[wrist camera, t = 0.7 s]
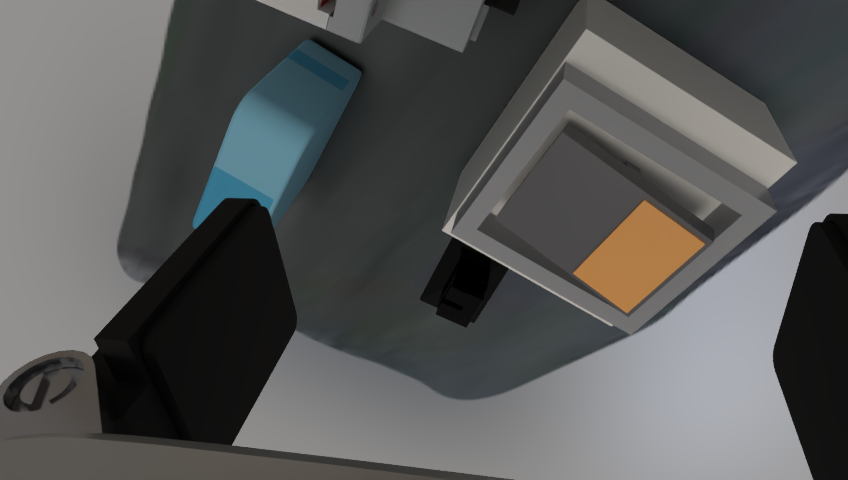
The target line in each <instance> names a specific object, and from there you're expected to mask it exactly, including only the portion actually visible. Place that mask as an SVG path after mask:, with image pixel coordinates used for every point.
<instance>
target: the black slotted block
mask: <svg viewBox="0 0 848 480" xmlns="http://www.w3.org/2000/svg"><path fill="white" fill-rule="evenodd" d="M508 269H509V268H508V267H506V266H504V265H502V264H500V263H499V262H497V261H495V260H493V259H492V258H490V257H488V256H486V255H485V254H483V253H481V252H479V251H477V250H476V249H474V248H472V247H470V246H469V245H467V244H465V243H463V242H462V241H460V240H458V239H456V238H455V237H453V238H452V239H451V241H450V243H449V245H448V247H447V249H446V251H445V252H444V254H443V256H442V258H441V260H440V262H439V264H438V266H437V267H436V269H435V271H434V273H433V275H432V277H431V279H430V281H429V282H428V284H427V286H426V288H425V290H424V292H423V294H422V295H421V297H420V300H421V301H423V302H426V303H428V304H430V305H433V306H435V307H437V312H436V315H439V316H441V317H443V318H445V319H448V320H450V321H452V322H455V323H457V324H459V325H462V326H464V327H467V326H468V324H469V323H470V322H472V323H474V322H475V321H476V319H477V318H478V316H479V315H480V313H481V311H482V310H483V308H484V307H485V305H486V304H487V302H488V300H489V299H490V297H491V296H492V294H493V293H494V291H495V289H496V288H497V286H498V285H499V283H500V282H501V280H502V278H503V277H504V275H505V274H506V272H507V271H508Z"/></svg>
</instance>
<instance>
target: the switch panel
mask: <svg viewBox="0 0 848 480" xmlns="http://www.w3.org/2000/svg"><path fill="white" fill-rule="evenodd" d="M568 123H569V124H570V125H571V126H573V127H574V128H576V129H577V130H578V131H580V132H581V133H582V134H584V135H585V136H587V137H588V138H589V139H591V140H592V141H593V142H595V143H596V144H598V145H599V146H600V147H602V148H603V149H604V150H606V151H607V152H609V153H610V154H611V155H613V156H614V157H615V158H617V159H618V160H620V161H621V162H622V163H624V164H625V165H626V166H628V167H629V168H631V169H632V170H633V171H635V172H636V173H637V174H639V175H640V176H642V177H643V178H644V179H646V180H647V181H648V182H650V183H651V184H653V185H654V186H655V187H657V188H658V189H659V190H661V191H662V192H664V193H665V194H666V195H668V196H669V197H671V198H672V199H673V200H675V201H676V202H677V203H679V204H680V205H682V206H683V207H684V208H686V209H687V210H688V211H690V212H691V213H693V214H694V215H695V216H697V217H698V218H699V219H701V220H702V221H704V222H705V223H706V224H708V225H709V226H710V227H712V228H713V229H715V231H714V243H713V244H712V245H710V246H709V247H708V248H707V249H706V250H705V251H704V252H702V253H701V254H700V255H699V256H698V257H697V258H696V259H694V260H693V261H692V262H691V263H690V264H689V265H688V266H686V267H685V268H684V269H683V270H682V271H681V272H680V273H678V274H677V275H676V276H675V277H674V278H673V279H672V280H670V281H669V282H668V283H667V284H666V285H665V286H664V287H662V288H661V289H660V290H659V291H658V292H657V293H656V294H654V295H653V296H652V297H651V298H650V299H649V300H648V301H646V302H645V303H644V304H643V305H642V306H641V307H640V308H638V309H637V310H636V311H635V312H634V313H633V314H632V315H630V316H629V317H627V316H626V315H624V314H623V313H621V312H620V311H619V310H617V309H616V308H615V307H613V306H612V305H611V304H609V303H608V302H607V301H605V300H604V299H603V298H601V297H600V296H598V295H597V294H596V293H594V292H593V291H592V290H590V289H589V288H588V287H586V286H585V285H584V284H582V283H581V282H579V281H578V280H577V279H575V278H574V277H573V276H571V275H570V274H569V273H567V272H566V271H565V270H563V269H562V268H561V267H559V266H558V265H556V264H555V263H554V262H552V261H551V260H550V259H548V258H547V257H546V256H544V255H543V254H542V253H540V252H539V251H537V250H536V249H535V248H533V247H532V246H531V245H529V244H528V243H527V242H525V241H524V240H523V239H521V238H520V237H519V236H517V235H516V234H514V233H513V232H512V231H510V230H509V229H508V228H506V227H505V226H504V225H502V224H501V223H500V222H498V221H497V220H495V218H496V216H497V215H498V213H499V212H500V210H501V209H502V207H503V206H504V205H505V203H506V202H507V201H508V200H509V198H510V197H511V196H512V195H513V193H514V192H515V191H516V189H517V188H518V187H519V186H520V184H521V183H522V182H523V180H524V179H525V178H526V177H527V175H528V174H529V173H530V171H531V170H532V169H533V168H534V166H535V165H536V164H537V162H538V161H539V160H540V159H541V157H542V156H543V155H544V153H545V152H546V151H547V150H548V148H549V147H550V146H551V144H552V143H553V142H554V141H555V139H556V138H557V137H558V135H559V134H560V133H561V132H562V130H563V129H564V128H565V127H566V125H567V124H568ZM796 163H797V162H796V160H795V158H794V156H793V154H792V152H791V151H790V149H789V147H788V145H787V143H786V141H785V139H784V138H783V136H782V134H781V132H780V130H779V128H778V126H777V125H776V123H775V121H774V119H773V117H772V115H771V113H770V112H769V110H768V108H767V106H766V104H765V103H764V102H762V101H761V100H759V99H757V98H756V97H754V96H753V95H751V94H750V93H748V92H747V91H745V90H744V89H742V88H740V87H739V86H737V85H736V84H734V83H733V82H731V81H730V80H728V79H727V78H725V77H723V76H722V75H720V74H719V73H717V72H716V71H714V70H713V69H711V68H710V67H708V66H706V65H705V64H703V63H702V62H700V61H699V60H697V59H696V58H694V57H693V56H691V55H689V54H688V53H686V52H685V51H683V50H682V49H680V48H679V47H677V46H676V45H674V44H672V43H671V42H669V41H668V40H666V39H665V38H663V37H662V36H660V35H658V34H657V33H655V32H654V31H652V30H651V29H649V28H648V27H646V26H645V25H643V24H641V23H640V22H638V21H637V20H635V19H634V18H632V17H631V16H629V15H628V14H626V13H624V12H623V11H621V10H620V9H618V8H617V7H615V6H614V5H612V4H611V3H609V2H607V1H606V0H579V1H578V2H577V4H576V5H575V7H574V8H573V10H572V11H571V13H570V14H569V16H568V17H567V19H566V20H565V21H564V23H563V24H562V26H561V27H560V29H559V30H558V32H557V33H556V35H555V36H554V38H553V39H552V40H551V42H550V43H549V45H548V46H547V48H546V49H545V51H544V52H543V54H542V55H541V57H540V58H539V59H538V61H537V62H536V64H535V65H534V67H533V68H532V70H531V71H530V73H529V74H528V75H527V77H526V78H525V80H524V81H523V83H522V84H521V86H520V87H519V89H518V90H517V92H516V93H515V94H514V96H513V97H512V99H511V100H510V102H509V103H508V105H507V106H506V108H505V109H504V111H503V112H502V113H501V115H500V116H499V118H498V119H497V121H496V122H495V124H494V125H493V127H492V128H491V130H490V131H489V132H488V134H487V135H486V137H485V138H484V140H483V141H482V143H481V144H480V146H479V147H478V148H477V150H476V151H475V153H474V154H473V156H472V157H471V159H470V160H469V162H468V163H467V165H466V166H465V167H464V169H463V170H462V172H461V175H460V178H459V181H458V184H457V187H456V190H455V193H454V196H453V199H452V202H451V205H450V208H449V211H448V214H447V217H446V220H445V223H444V226H443V229H442V231H444V232H446V233H447V234H449V235H451V236H453V237H455V238H456V239H458V240H460V241H462V242H463V243H465V244H467V245H469V246H470V247H472V248H474V249H476V250H477V251H479V252H481V253H483V254H485V255H486V256H488V257H490V258H492V259H493V260H495V261H497V262H499V263H500V264H502V265H504V266H506V267H508V268H509V269H511V270H513V271H515V272H516V273H518V274H520V275H522V276H523V277H525V278H527V279H529V280H530V281H532V282H534V283H536V284H538V285H539V286H541V287H543V288H545V289H546V290H548V291H550V292H552V293H553V294H555V295H557V296H559V297H561V298H562V299H564V300H566V301H568V302H569V303H571V304H573V305H575V306H576V307H578V308H580V309H582V310H583V311H585V312H587V313H589V314H591V315H592V316H594V317H596V318H598V319H599V320H601V321H603V322H605V323H606V324H608V325H610V326H613V325H614V326H616V327H618V328H619V329H621V330H623V331H625V332H627V333H628V334H630V335H631V334H633V333H634V332H635V331H636V330H637V329H638V328H640V327H641V326H642V325H643V324H644V323H646V322H647V321H648V320H649V319H650V318H651V317H653V316H654V315H655V314H656V313H657V312H659V311H660V310H661V309H662V308H663V307H665V306H666V305H667V304H668V303H669V302H670V301H672V300H673V299H674V298H675V297H676V296H678V295H679V294H680V293H681V292H682V291H683V290H685V289H686V288H687V287H688V286H689V285H691V284H692V283H693V282H694V281H695V280H697V279H698V278H699V277H700V276H701V275H702V274H704V273H705V272H706V271H707V270H708V269H710V268H711V267H712V266H713V265H714V264H715V263H717V262H718V261H719V260H720V259H721V258H723V257H724V256H725V255H726V254H727V253H728V252H730V251H731V250H732V249H733V248H734V247H736V246H737V245H738V244H739V243H740V242H742V241H743V240H744V239H745V238H746V237H747V236H749V235H750V234H751V233H752V232H753V231H755V230H756V229H757V228H758V227H759V226H760V225H762V224H763V223H764V222H765V221H766V220H768V219H769V218H770V217H771V216H772V215H774V214H775V213H776V212H777V210H776V207H775V205H774V203H773V200H772V198H771V196H770V193H769V191H768V188H769V187H770V186H771V185H773V184H774V183H775V182H776V181H777V180H778V179H779V178H780V177H782V176H783V175H784V174H785V173H786V172H787V171H788V170H790V169H791V168H792V167H793V166H794V165H795V164H796Z"/></svg>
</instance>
